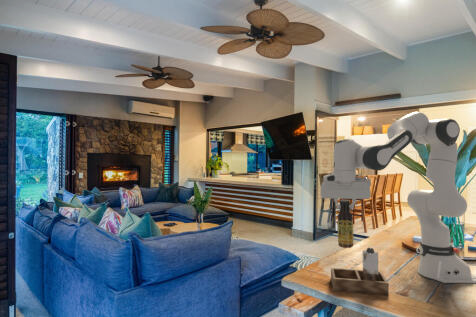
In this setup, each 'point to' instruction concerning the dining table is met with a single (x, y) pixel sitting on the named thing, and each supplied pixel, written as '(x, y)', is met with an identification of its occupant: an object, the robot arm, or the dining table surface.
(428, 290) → the dining table surface
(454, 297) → the dining table surface
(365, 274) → the pepper mill
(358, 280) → the condiment caddy
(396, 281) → the dining table surface
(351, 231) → the sauce bottle
